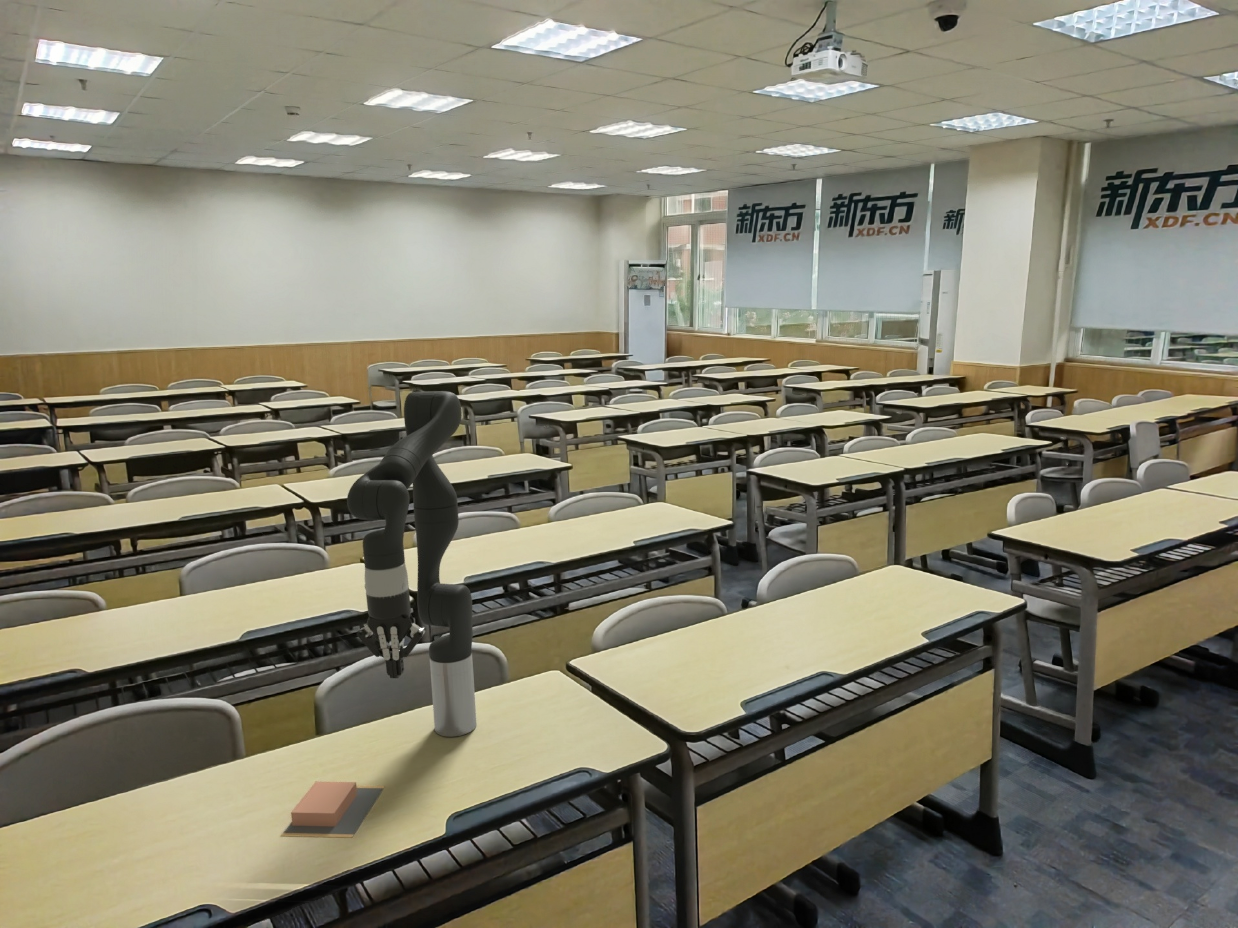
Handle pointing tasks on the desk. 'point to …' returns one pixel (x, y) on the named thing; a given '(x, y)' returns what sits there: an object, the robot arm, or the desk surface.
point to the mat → (348, 820)
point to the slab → (324, 804)
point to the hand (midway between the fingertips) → (395, 676)
